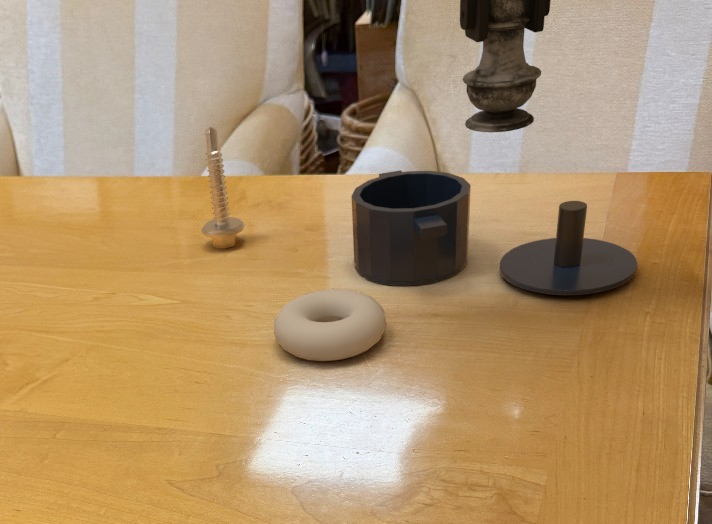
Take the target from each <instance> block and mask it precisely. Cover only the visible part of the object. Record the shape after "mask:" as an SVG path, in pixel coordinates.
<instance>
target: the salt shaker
mask: <svg viewBox="0 0 712 524" xmlns="http://www.w3.org/2000/svg"><path fill="white" fill-rule="evenodd" d="M524 12H525V0H489V17H488V37H487V39H485V41H483V42H482V53H481V57H480V60H479V64H478V65H477V66H476V67H475V69H473V70H470V71H469V72H467V73H465V74H464V75H463V76H462V81H463V83H464V84H465V85H466V94H467V97H468V99H469V101H470V103H471V104H472V105H473V106H474V107H475V108H476V109H478V110H480V111H477V112H475V113H473V115H472V116H470V117H468V118H467V119H466V120H465V123H464V126H465V127H466V128H467V129H468V130H471V131H473V132H474V131H475V132H479V133H502V132H503V133H505V132H511V131H516V130H520V129H523V128H526V127H528V126H530V125H532V124H533V123H534V122H535V121H534V120H535V117H534V115H533V114H532V113H530V112H528V111H527V110H525V109H522V108H521V107H523V106H524V105H525V104H527V102H528V101H529V100H530V99H531V98H532V96H533V94H534V92H535V89H536V87H537V80H538V79H539V78H540V77H541V76H542V70H541V69H540V68H539V67H536V66H535V65H530V64H529V63H528V62H527V61H526V56H525V49H524V45H525V44H524V43H525V42H524V40H525V30H526V28H525V24H526V23H527V22H528V21H529V17H528V16H526V15H524Z"/></svg>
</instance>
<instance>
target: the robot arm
mask: <svg viewBox="0 0 712 524" xmlns="http://www.w3.org/2000/svg"><path fill="white" fill-rule="evenodd" d="M551 2H552V1H551V0H525V12H524V15H526V16H528V17H529V21H528V22H527V23H526V24H525V30H528V31H531V32H533V33H541V32H543V31H544V28H545V17H548V15H549V14H550V10H551ZM488 17H489V0H459V26H460V29H461V30H463V31H464V34H465V37H466V38H468V39H470V40H471V41H474V42H476V43H483V41H485V39H487V37H488Z"/></svg>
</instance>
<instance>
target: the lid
mask: <svg viewBox="0 0 712 524" xmlns="http://www.w3.org/2000/svg"><path fill="white" fill-rule="evenodd" d="M587 213H588V204H587V203H586V202H585V201H581V200H567V201H563V202H561V203H560V204H559V206H558V213H557V224H556V234H555V237H552V238H543V239H538V240H534V241H530V242H529V241H528V242H526V243H522V244H519V245H518V246H515V247H513V248H511V249H510V250H508V251H507V252H506V253H505V254H504V255H503V256H502V257H501V258H500V260H499V272H500V276H502V278H503V279H504V280H505V281H506V282H508V283H510V284H511V285H513V286H515V287H517V288H520V289H522V290H526V291H529V292H533V293H538V294H544V295H552V296H553V295H554V296H582V295H583V296H584V295H591V294H597V293H602V292H605V291H610V290H613V289H616V288H619V287H620V286H623V285H625V284H626V283H628V282H629V281H631V279H632V278H634V276H635V275H636V273H637V270H638V260H637V258H636V256H635V255H634V254H633V253H632V252H631V251H630V250H628V249H627V248H625V247H622V246H621V245H618V244H616V243H612V242H609V241H606V240H600V239H595V238H587V237H585V230H586V222H587V221H586V219H587Z"/></svg>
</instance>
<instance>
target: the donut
mask: <svg viewBox="0 0 712 524" xmlns="http://www.w3.org/2000/svg"><path fill="white" fill-rule="evenodd" d="M386 325H387V321H386V315H385V310H384V308H383V306H382V305H381V304H380V303H379V302H378V301H377V300H376V299H375V298H373V296H370V295H368V294H367V293H364V292H362V291H357V290H351V289H345V288H344V289H343V288H342V289H341V288H329V289H320V290H316V291H312V292H307V293H304V294H302V295H299V296H297V297H295V298H293V299H292V300H290V301H288V302H287V303H285V304H284V305H283V306H282V307H281V309H280V310H279V311H278V312H277V314H276V316H275V317H274V324H273V335H274V338H275V339H276V341H277V342H278V344H279V345H280V347H281V348H282V350H284V351H285V352H287V353H289V354H291V355H293V356H294V357H296V358H299V359H303V360H307V361H315V362H330V361H331V362H332V361H341V360H344V359H349V358H353V357H356V356H358V355H361V354H363V353H365V352H367V351H368V350H369V349H371V348H372V347H373V346H374V345H376V344H377V343H378V342H379V341H380V339H381V338H382V336H383V334H384V332H385V330H386V327H387V326H386Z"/></svg>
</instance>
